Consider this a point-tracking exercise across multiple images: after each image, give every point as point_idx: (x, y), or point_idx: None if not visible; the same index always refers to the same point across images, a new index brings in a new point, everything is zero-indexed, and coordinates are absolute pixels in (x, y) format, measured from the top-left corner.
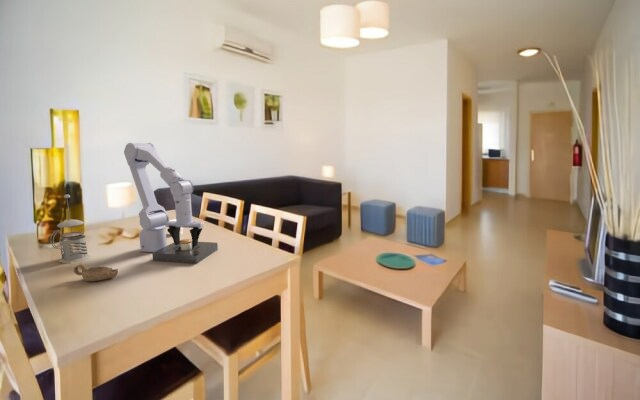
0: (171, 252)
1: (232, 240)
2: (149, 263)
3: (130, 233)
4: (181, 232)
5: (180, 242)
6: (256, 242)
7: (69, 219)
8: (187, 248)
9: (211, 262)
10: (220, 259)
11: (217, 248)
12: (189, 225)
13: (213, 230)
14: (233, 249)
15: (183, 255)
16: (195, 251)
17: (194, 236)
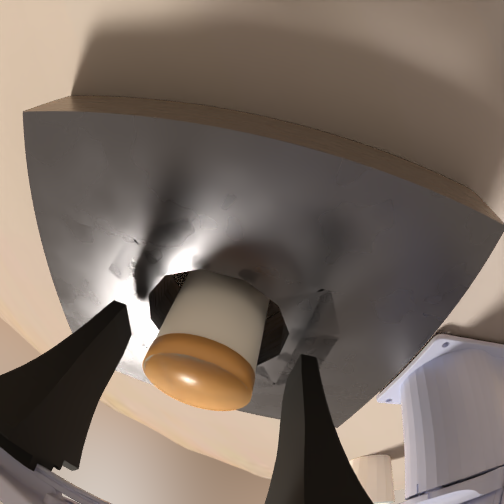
0: (314, 212)
1: (122, 394)
2: (483, 126)
3: None
4: (351, 465)
5: (238, 365)
6: (39, 350)
7: None
8: (182, 297)
9: (17, 134)
10: (8, 184)
11: None
12: (13, 497)
13: (249, 463)
14: (47, 309)
15: (127, 114)
16: (81, 222)
17: (33, 363)
